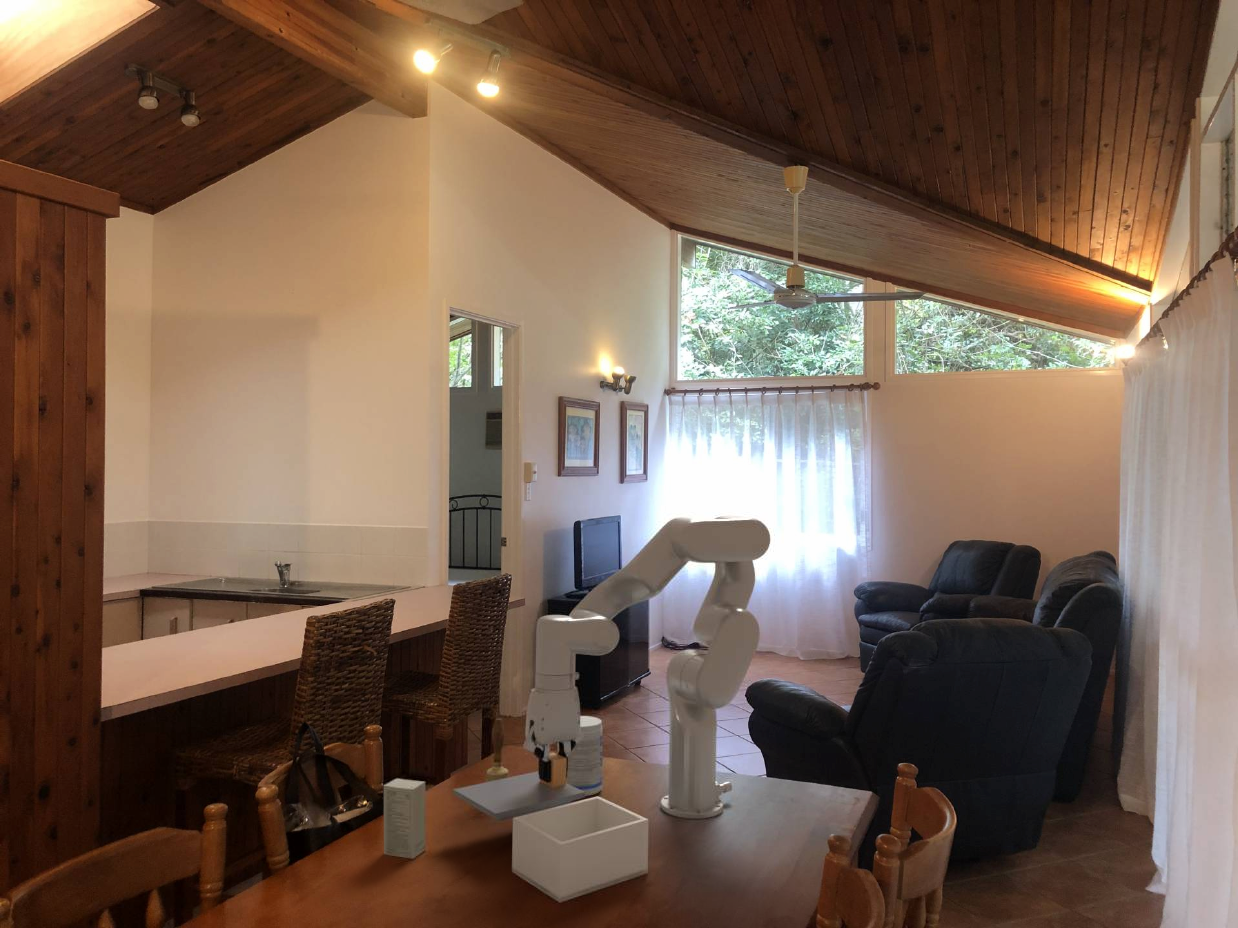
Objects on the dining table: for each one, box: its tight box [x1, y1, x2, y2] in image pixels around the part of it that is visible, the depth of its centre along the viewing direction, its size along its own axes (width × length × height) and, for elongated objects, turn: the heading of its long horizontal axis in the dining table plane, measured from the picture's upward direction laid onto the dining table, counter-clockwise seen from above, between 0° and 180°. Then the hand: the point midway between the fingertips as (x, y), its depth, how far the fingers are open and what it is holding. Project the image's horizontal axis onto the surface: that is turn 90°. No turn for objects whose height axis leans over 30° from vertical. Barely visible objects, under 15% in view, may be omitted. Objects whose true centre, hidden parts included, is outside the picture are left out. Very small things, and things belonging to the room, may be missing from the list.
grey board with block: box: [452, 752, 586, 822], centre depth 169 cm, size 19×15×7 cm
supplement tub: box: [566, 715, 604, 797], centre depth 195 cm, size 10×10×15 cm
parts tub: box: [511, 796, 649, 904], centre depth 154 cm, size 18×14×9 cm
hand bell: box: [484, 718, 510, 783], centre depth 191 cm, size 8×8×16 cm
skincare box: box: [383, 777, 427, 860], centre depth 162 cm, size 6×4×12 cm
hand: (553, 777), depth 174 cm, fingers closed on grey board with block, 3 cm apart
